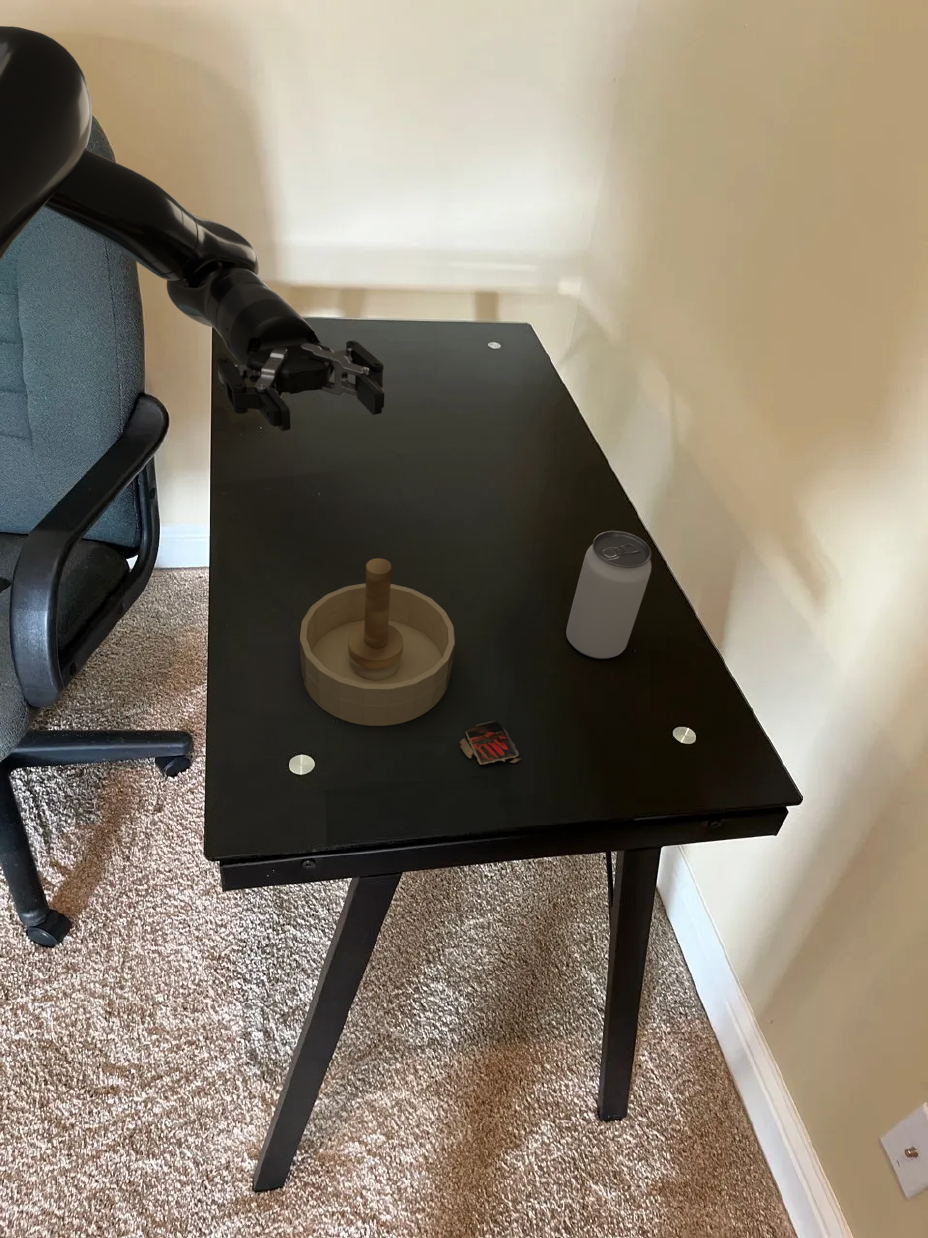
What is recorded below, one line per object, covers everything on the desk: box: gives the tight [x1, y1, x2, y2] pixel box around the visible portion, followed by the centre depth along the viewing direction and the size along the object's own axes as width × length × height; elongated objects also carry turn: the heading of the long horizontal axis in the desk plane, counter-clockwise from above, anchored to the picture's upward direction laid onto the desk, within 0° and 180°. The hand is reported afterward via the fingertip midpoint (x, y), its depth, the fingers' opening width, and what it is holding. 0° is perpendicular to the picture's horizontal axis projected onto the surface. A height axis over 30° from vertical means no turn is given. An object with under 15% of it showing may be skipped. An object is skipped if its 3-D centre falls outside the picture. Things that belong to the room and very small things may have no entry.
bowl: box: [299, 582, 456, 727], centre depth 78 cm, size 14×14×5 cm
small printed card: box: [458, 720, 522, 765], centre depth 74 cm, size 5×5×1 cm
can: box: [565, 530, 652, 660], centre depth 82 cm, size 6×6×12 cm
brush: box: [348, 557, 403, 680], centre depth 76 cm, size 5×5×12 cm
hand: (333, 412), depth 71 cm, fingers open, 8 cm apart
